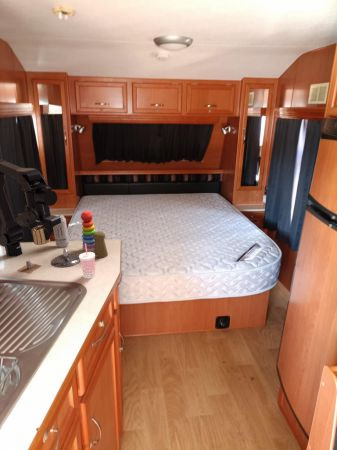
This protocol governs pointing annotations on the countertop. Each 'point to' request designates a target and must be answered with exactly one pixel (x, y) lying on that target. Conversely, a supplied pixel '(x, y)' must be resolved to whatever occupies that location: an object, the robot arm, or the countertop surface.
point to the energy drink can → (61, 233)
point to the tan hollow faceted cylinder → (39, 236)
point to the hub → (65, 260)
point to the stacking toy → (88, 231)
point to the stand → (29, 267)
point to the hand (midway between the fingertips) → (41, 239)
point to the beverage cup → (88, 263)
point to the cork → (100, 245)
